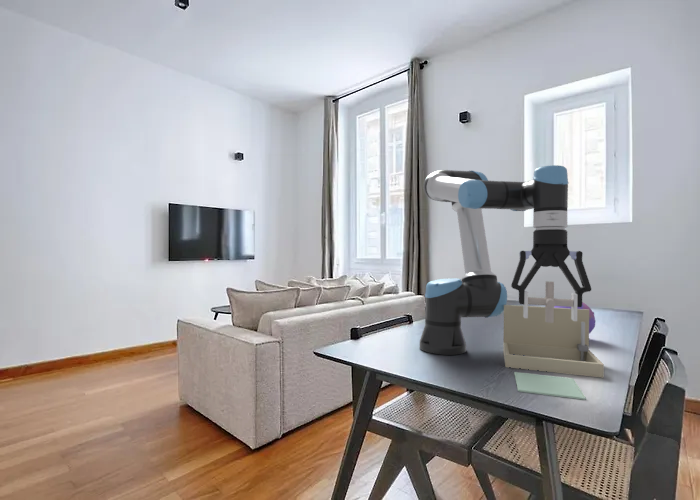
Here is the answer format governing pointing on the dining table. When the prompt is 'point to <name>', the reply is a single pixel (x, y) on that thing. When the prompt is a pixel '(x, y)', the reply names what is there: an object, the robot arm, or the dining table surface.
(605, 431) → the dining table surface
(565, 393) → the mat
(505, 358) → the case
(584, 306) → the decorative ball
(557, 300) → the pipe connector
